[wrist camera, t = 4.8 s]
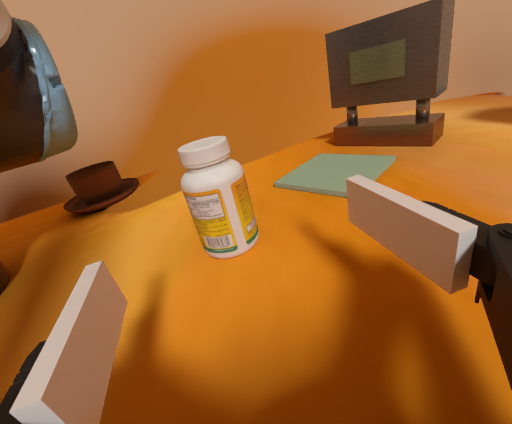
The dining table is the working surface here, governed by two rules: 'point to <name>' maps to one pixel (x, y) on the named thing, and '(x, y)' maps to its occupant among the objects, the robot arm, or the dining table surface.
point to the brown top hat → (98, 187)
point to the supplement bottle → (218, 198)
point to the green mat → (334, 172)
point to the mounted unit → (392, 74)
